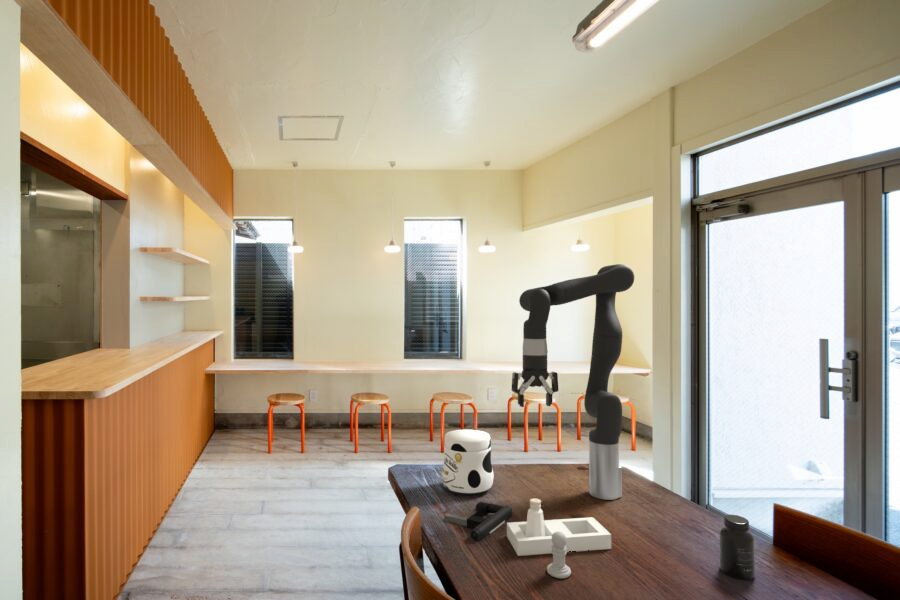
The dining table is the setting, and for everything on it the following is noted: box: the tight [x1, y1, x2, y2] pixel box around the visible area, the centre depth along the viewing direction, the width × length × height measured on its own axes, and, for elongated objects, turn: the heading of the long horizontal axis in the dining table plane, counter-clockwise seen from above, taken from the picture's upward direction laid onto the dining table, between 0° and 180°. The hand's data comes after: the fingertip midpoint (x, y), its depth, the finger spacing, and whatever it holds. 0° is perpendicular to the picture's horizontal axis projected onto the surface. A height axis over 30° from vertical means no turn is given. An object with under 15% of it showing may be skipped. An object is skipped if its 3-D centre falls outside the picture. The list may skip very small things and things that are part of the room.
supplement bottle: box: [718, 514, 756, 581], centre depth 105 cm, size 7×7×12 cm
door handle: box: [443, 501, 513, 542], centre depth 130 cm, size 3×20×16 cm
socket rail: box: [506, 516, 612, 557], centre depth 118 cm, size 24×10×4 cm, turn 99°
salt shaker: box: [525, 498, 545, 537], centre depth 117 cm, size 5×5×11 cm
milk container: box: [441, 428, 495, 496], centre depth 154 cm, size 17×17×18 cm
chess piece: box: [546, 532, 572, 580], centre depth 104 cm, size 5×5×9 cm
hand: (535, 406), depth 142 cm, fingers open, 8 cm apart
